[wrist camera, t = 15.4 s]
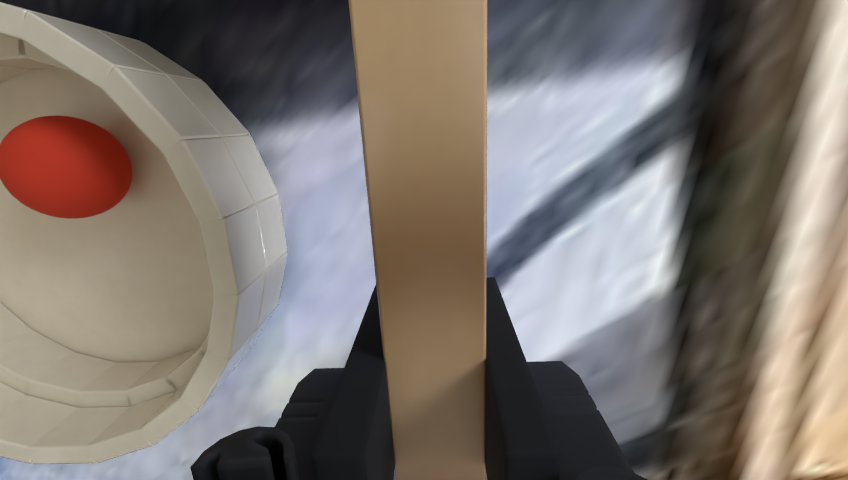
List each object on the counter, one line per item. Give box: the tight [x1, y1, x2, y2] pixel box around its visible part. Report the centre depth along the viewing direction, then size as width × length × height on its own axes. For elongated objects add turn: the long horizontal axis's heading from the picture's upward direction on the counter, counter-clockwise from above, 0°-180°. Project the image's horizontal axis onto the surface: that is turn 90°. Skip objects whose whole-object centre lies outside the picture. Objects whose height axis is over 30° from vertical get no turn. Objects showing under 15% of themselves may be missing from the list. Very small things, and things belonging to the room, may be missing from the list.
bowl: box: [0, 1, 288, 464], centre depth 15 cm, size 16×16×5 cm
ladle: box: [348, 0, 487, 480], centre depth 9 cm, size 22×6×7 cm, turn 3°
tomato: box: [0, 115, 132, 219], centre depth 14 cm, size 4×4×4 cm
